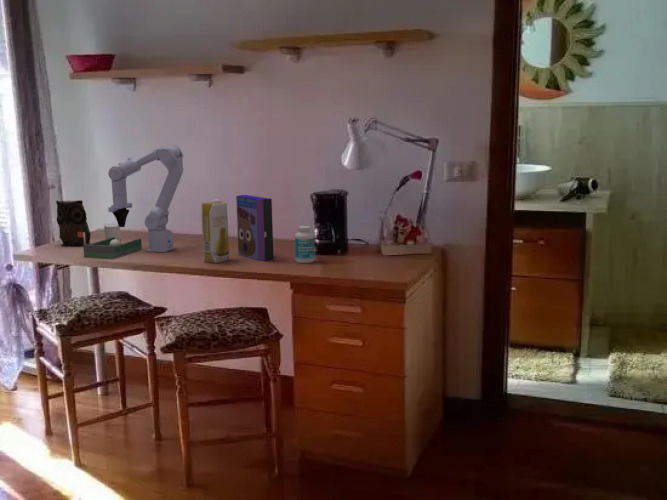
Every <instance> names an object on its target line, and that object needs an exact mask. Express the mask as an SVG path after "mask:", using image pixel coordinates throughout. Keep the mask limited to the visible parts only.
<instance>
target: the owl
mask: <svg viewBox="0 0 667 500" xmlns="http://www.w3.org/2000/svg"><path fill="white" fill-rule="evenodd" d="M55 204H56V214H57V216H56V222H57V224H58V227H59V229H58V232H59V239H60V240H61V242H62V244H61V246H62V247H77V248H78V247H80V248H81V247H83V245H84V237H78V232H85V241H86V244H87V245H89V244H91V236H92V235H91V231H90V228H89V225H88V221H87V219H88V218H87V212H86V210H85V207H84V205H83V200H82V199H81V200H56V201H55Z"/></svg>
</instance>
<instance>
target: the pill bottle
mask: <svg viewBox="0 0 667 500" xmlns="http://www.w3.org/2000/svg"><path fill="white" fill-rule="evenodd" d="M311 230H312V228H311V226H309V225H300V226H298V232H296V233H295V235H294V257H295V258H294V261H295V262H296V263H299V264H309V263H310V264H311V263H314V262H315V258H316V255H315V251H316V250H315V234H314V233H313V232H312V231H311Z"/></svg>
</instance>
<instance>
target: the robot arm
mask: <svg viewBox="0 0 667 500" xmlns="http://www.w3.org/2000/svg"><path fill="white" fill-rule="evenodd" d="M183 158H184V153H183V152H182V150H181V148H180V147H179V146H177V145H171V146H163V147H160V148H158V149H154V150H152V151H151V152H149V153H146V154H144V155H143V156H141V157H139V158H135V157H128V158H127V160H126V161H124V162H119V163H118V165H113V166H111V167H110V168H109V170H108V173H107V174H108V175H107V176H108V177H109V178H110V180H111V191H112V192H111V193H112V205H110V206H108V208H107V209H108V213H112V214H113V216H114V217H115V220H116V221H117V225H119V227H120V228H125V227H126V223H127V222H126V221H127V218H128V215H129V213H130V209H129V208H131V209H132V208H133V203H132V202H128V195H127V192H128V191H127V178H128V177H129V176H131V175H133V174H135V173H137V172H140V171H141V169H142V167H143V166H146V165H147V164H150V163H152V162H155V161H156V162H157V161H160V162H161V163H162V164H163V166H164V167H165V168H166V169H167V172H168V174H167V176H166V177H165V181H164V183H163V186H162V189H161V191H160V193H159V196H158V197H157V200H156V203H155V205H154V207H152V209H151V210H150V211H149V214H148V215H146V217H145V218H144V225H145V227H146V228H147V231H148V248H147V249H145V252H154V253H155V252H157V253H166V252H169V251H172V250H174V249H175V247H174V235H173V232H172V230H170V229H167V224H168V222H169V214H170V211H169V208H170V206H171V202H172V201H173V199H174V195H175V193H176V190H177V189H178V185H179V184H180V181H181V178H182V176H183V173H184V164H183Z"/></svg>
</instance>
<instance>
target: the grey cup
mask: <svg viewBox="0 0 667 500" xmlns="http://www.w3.org/2000/svg"><path fill="white" fill-rule="evenodd" d="M103 229H104V234H105V240H106V239H109V238H112V237H115V239H116V240H118V241H119V242H120V241H121V240H120V239H121V236H120V235H121V227H119V225H118V224H107V225H104V226H103Z"/></svg>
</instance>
